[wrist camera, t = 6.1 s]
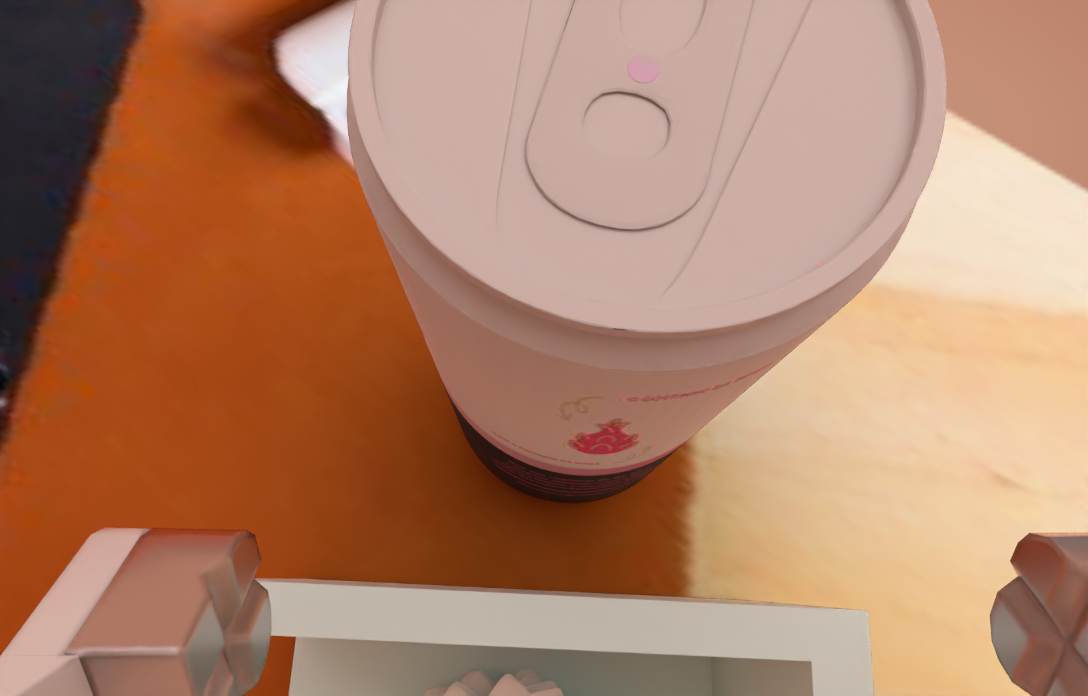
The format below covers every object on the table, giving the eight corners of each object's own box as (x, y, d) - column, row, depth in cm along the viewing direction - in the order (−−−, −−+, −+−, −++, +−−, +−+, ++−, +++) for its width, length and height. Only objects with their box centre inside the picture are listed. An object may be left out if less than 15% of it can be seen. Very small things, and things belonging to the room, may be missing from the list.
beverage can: (705, 319, 23) (1001, -110, 9) (649, 534, 21) (911, 439, 7) (496, 259, 23) (451, -247, 9) (424, 464, 22) (225, 237, 7)
